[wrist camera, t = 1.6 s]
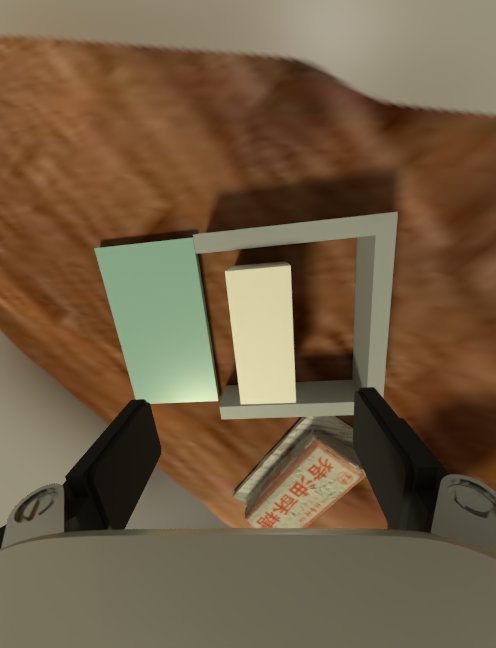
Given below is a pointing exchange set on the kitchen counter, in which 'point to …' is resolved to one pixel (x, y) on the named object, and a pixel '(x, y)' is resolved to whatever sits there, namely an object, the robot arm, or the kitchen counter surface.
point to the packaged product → (302, 475)
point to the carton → (262, 331)
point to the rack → (368, 320)
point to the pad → (161, 319)
